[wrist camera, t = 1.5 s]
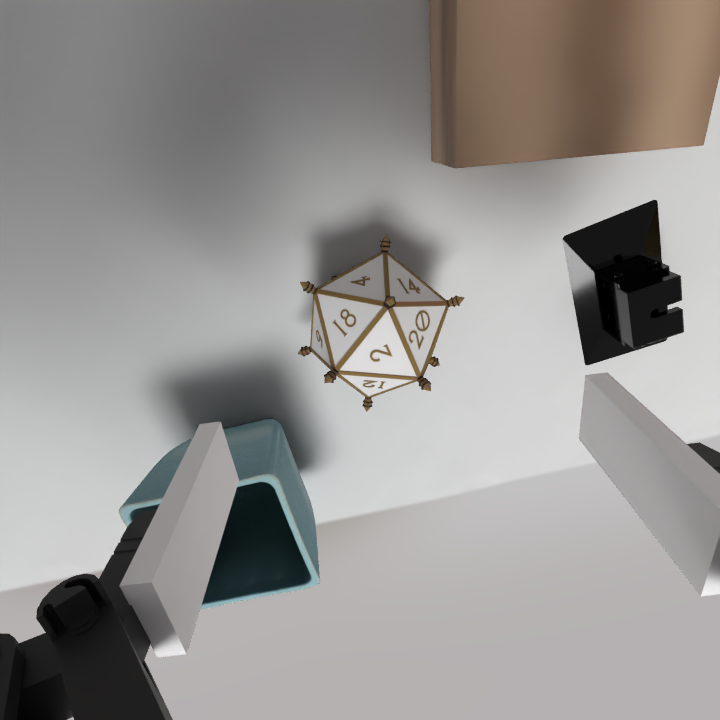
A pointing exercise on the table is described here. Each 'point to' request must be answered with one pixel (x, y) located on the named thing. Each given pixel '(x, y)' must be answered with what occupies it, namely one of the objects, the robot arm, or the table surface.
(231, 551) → the flower pot
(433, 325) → the game die
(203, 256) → the table surface
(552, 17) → the walnut block
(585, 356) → the black angular block
